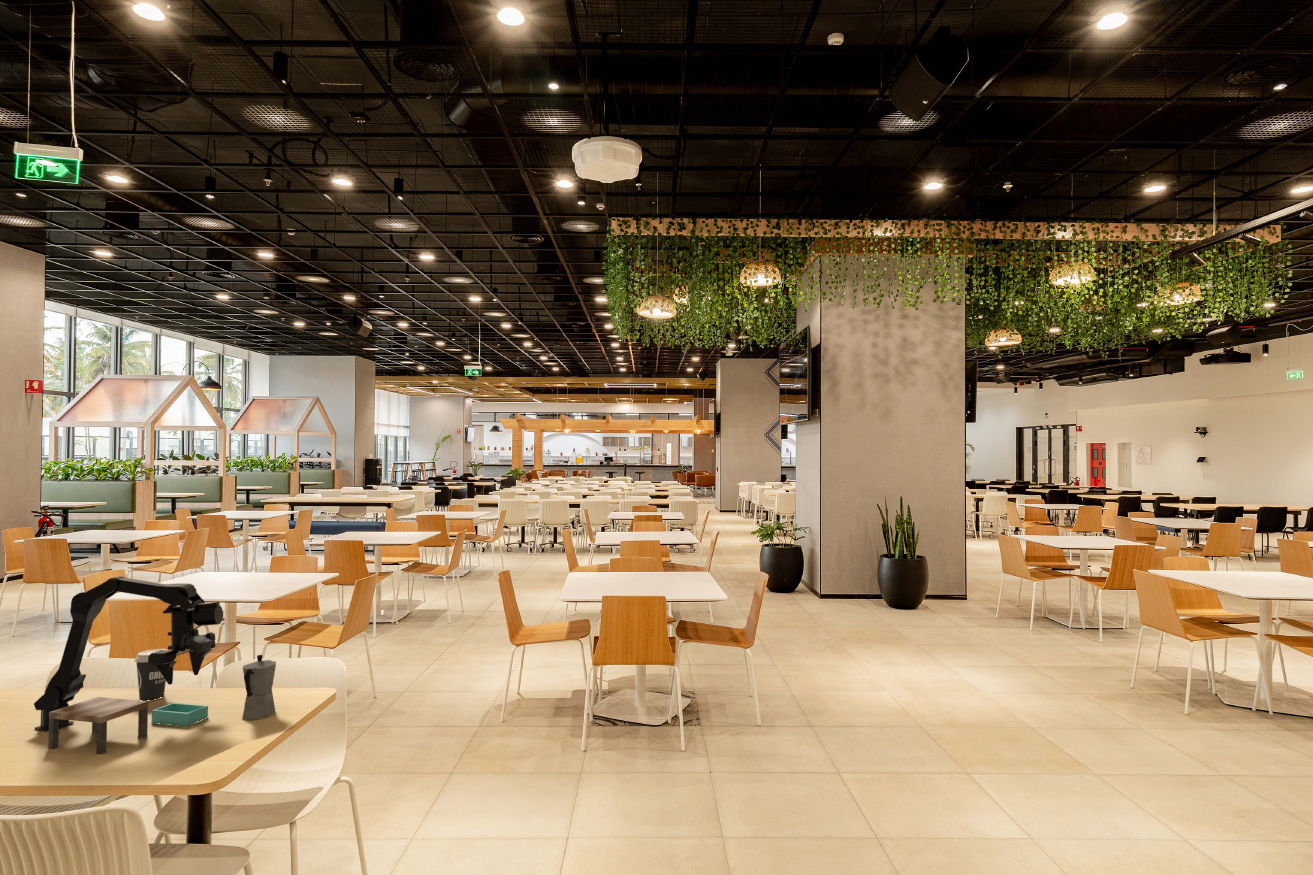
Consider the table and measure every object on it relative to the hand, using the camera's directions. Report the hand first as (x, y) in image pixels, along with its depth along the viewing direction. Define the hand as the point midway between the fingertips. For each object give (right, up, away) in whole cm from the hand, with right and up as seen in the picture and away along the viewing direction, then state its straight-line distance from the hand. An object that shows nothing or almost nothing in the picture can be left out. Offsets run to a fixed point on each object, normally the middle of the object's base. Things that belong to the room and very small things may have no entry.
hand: (183, 679), depth 212 cm
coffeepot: (+22, -12, +1) cm, 25 cm away
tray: (0, -12, -2) cm, 12 cm away
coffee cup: (-23, -13, +19) cm, 33 cm away
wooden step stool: (-11, -11, -18) cm, 24 cm away
